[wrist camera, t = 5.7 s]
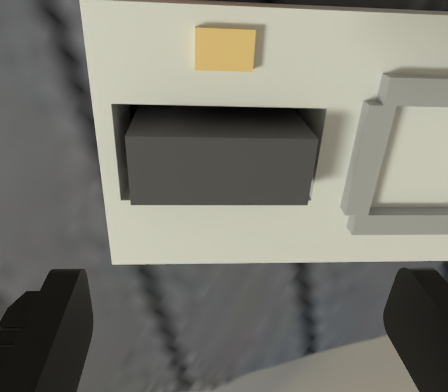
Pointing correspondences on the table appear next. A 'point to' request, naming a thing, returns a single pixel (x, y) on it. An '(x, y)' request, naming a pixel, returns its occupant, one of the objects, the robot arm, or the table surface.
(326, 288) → the table surface
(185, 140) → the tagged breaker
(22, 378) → the robot arm
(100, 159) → the panel
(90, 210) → the table surface
